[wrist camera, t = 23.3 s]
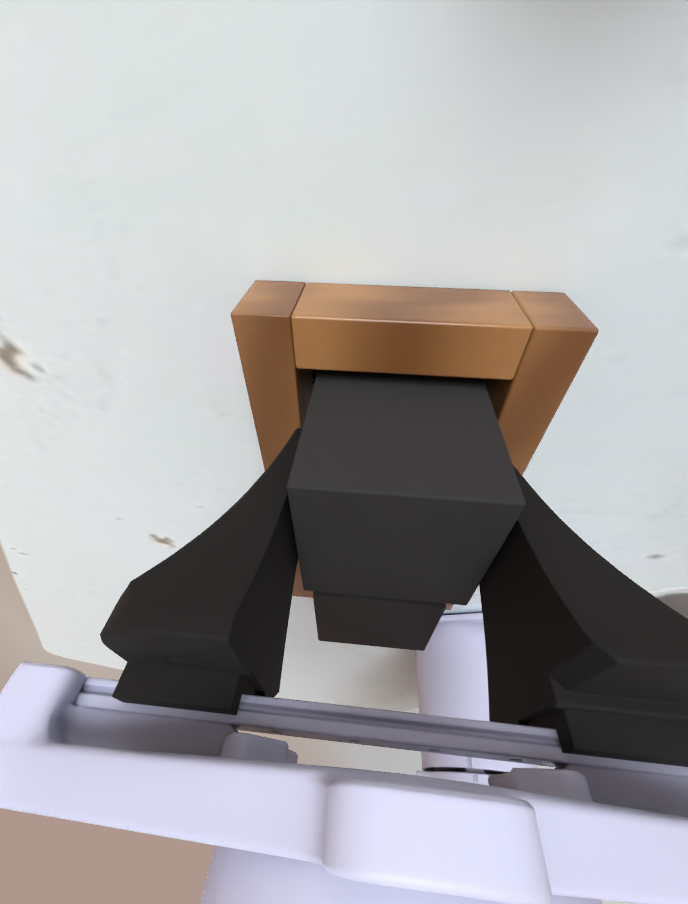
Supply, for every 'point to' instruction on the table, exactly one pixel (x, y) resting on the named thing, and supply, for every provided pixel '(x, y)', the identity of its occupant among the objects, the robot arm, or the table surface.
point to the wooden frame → (409, 350)
